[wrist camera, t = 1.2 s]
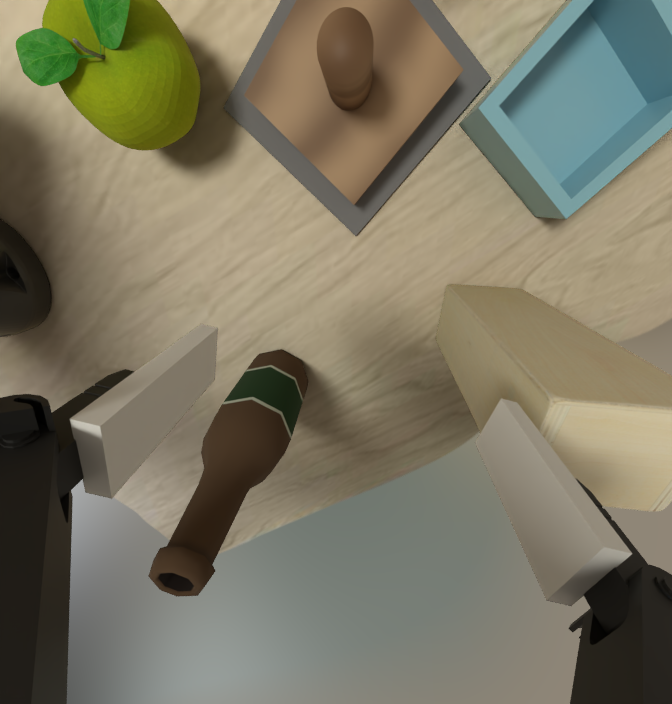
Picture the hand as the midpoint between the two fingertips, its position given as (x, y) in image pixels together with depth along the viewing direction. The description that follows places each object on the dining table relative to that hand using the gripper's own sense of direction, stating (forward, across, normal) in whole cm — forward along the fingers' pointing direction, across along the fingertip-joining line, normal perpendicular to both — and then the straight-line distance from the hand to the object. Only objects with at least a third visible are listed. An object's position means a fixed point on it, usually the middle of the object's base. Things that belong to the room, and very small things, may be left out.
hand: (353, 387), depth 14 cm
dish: (+21, +12, +18) cm, 30 cm away
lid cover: (+21, -5, +15) cm, 26 cm away
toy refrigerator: (+21, +13, -1) cm, 25 cm away
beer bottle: (+21, -7, -14) cm, 26 cm away
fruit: (+21, -21, +12) cm, 32 cm away
